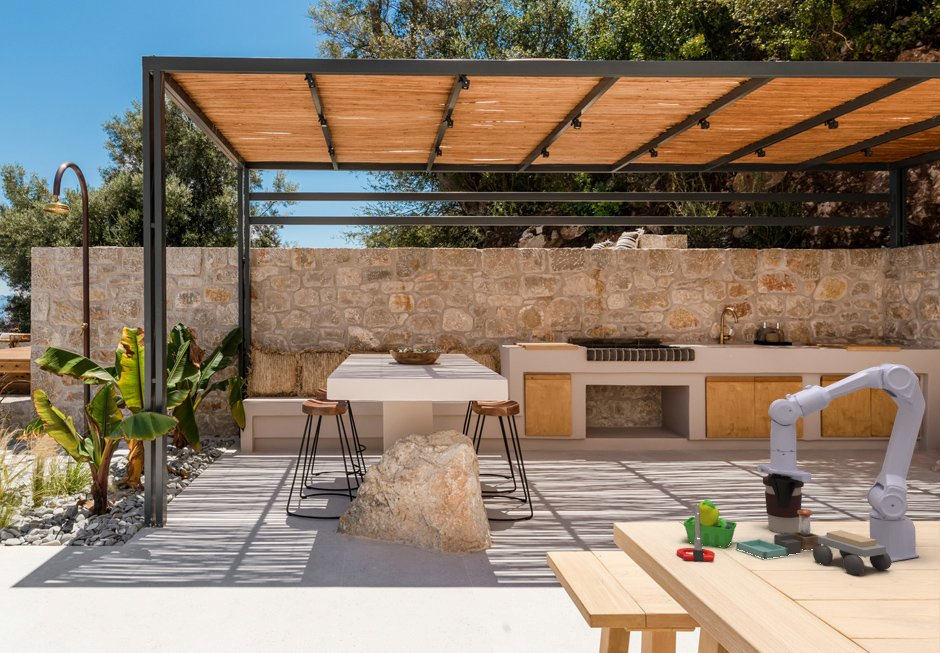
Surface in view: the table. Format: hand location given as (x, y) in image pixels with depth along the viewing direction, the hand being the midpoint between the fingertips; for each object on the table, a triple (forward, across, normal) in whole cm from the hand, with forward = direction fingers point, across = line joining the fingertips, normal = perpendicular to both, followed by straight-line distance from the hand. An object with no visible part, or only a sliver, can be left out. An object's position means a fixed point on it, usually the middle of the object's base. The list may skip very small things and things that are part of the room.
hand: (783, 507), depth 179 cm
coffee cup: (+10, -13, +14) cm, 22 cm away
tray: (+10, 0, -7) cm, 12 cm away
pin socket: (+10, +1, +6) cm, 12 cm away
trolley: (+10, +16, +3) cm, 19 cm away
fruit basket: (+10, -12, -12) cm, 20 cm away
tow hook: (+10, -5, -22) cm, 25 cm away
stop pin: (+10, +1, +6) cm, 12 cm away
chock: (+10, +2, -1) cm, 10 cm away
